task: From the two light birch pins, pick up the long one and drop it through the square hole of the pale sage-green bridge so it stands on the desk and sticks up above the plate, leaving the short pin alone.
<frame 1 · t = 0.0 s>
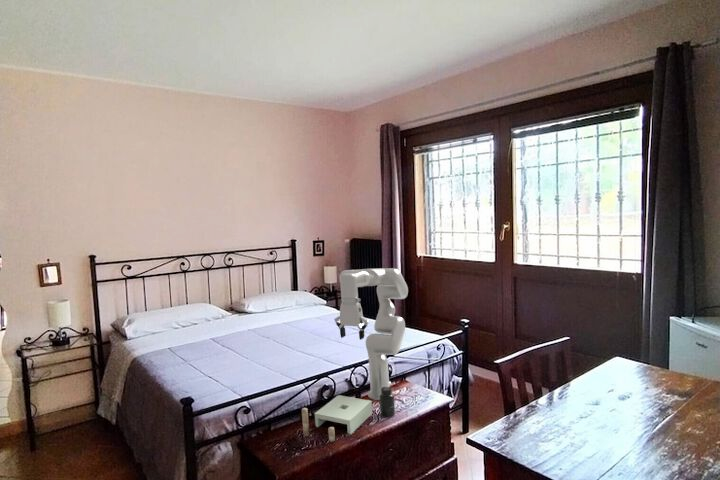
hand: (352, 337, 196), 37 cm above the table, tool pointing down, fingers open, 9 cm apart
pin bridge: (344, 419, 196), on the table
short birch pin: (332, 440, 179), on the table
supplement bottle: (387, 414, 199), on the table
long birch pin: (306, 434, 185), on the table
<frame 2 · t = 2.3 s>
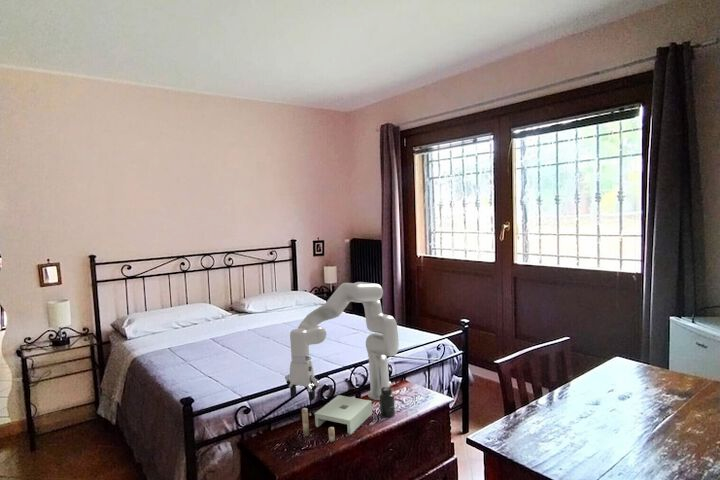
hand: (302, 397, 184), 16 cm above the table, tool pointing down, fingers open, 9 cm apart
nothing on the table moved.
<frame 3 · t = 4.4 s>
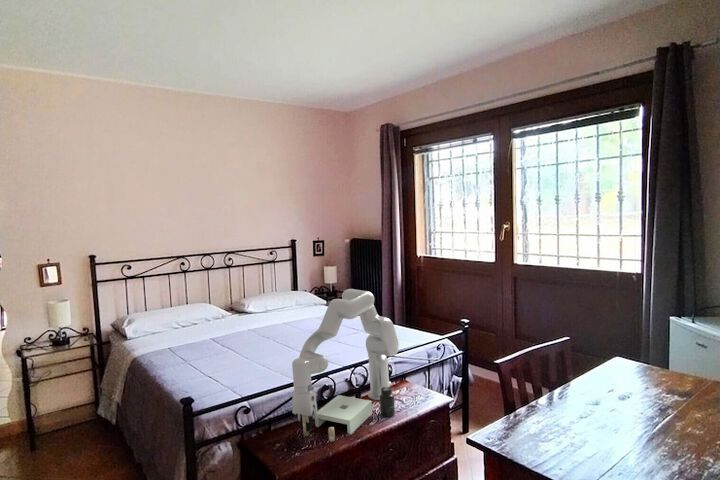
hand: (306, 429, 185), 2 cm above the table, tool pointing down, fingers closed on long birch pin, 2 cm apart
long birch pin: (306, 434, 185), on the table, touching gripper
everything else where it was.
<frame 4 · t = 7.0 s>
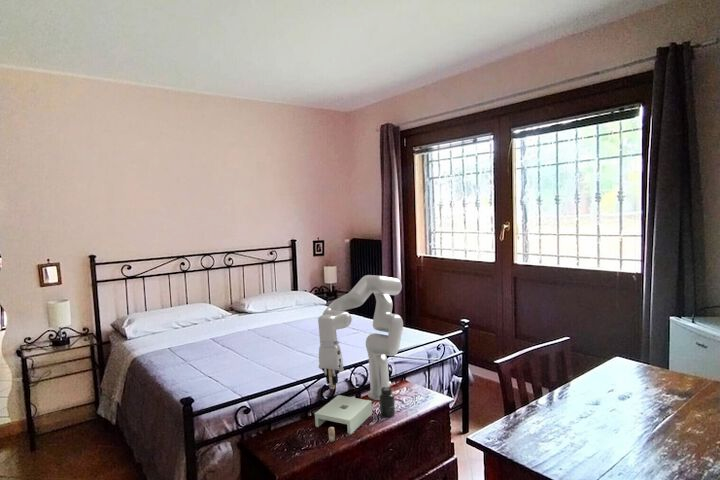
hand: (332, 382, 192), 18 cm above the table, tool pointing down, fingers closed on long birch pin, 2 cm apart
long birch pin: (332, 387, 192), point 16 cm above the table, touching gripper
everything else where it was.
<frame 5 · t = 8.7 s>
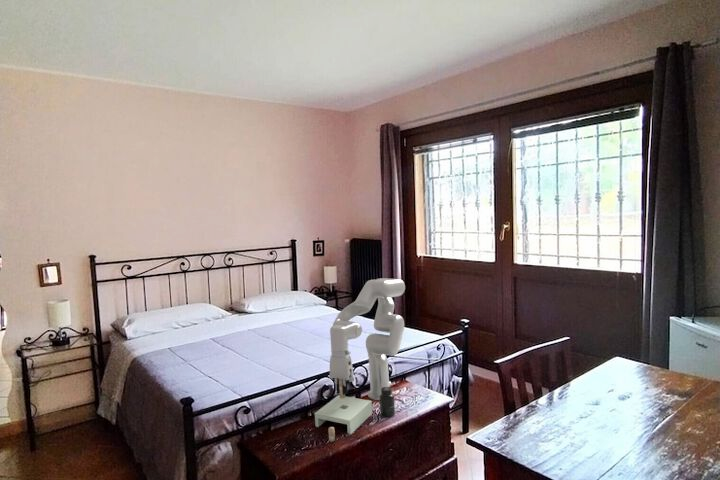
hand: (342, 392, 195), 13 cm above the table, tool pointing down, fingers closed on long birch pin, 2 cm apart
long birch pin: (342, 397, 195), point 11 cm above the table, touching gripper
everything else where it was.
when the fingers open (8 cm above the table, at t = 9.8 s): long birch pin drops 6 cm, on the table.
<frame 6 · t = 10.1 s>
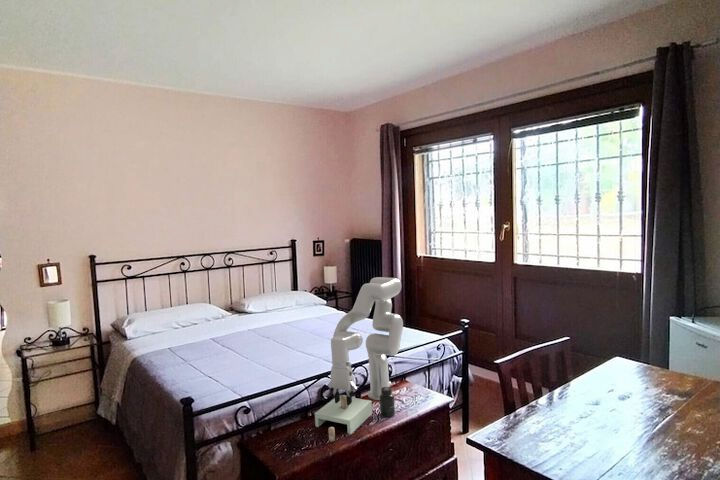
hand: (343, 402, 195), 8 cm above the table, tool pointing down, fingers open, 5 cm apart
long birch pin: (344, 419, 196), on the table
everything else where it was.
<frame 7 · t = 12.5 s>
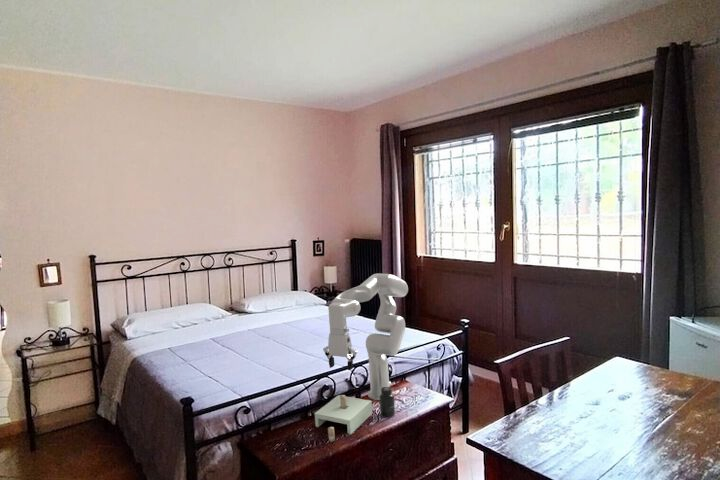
hand: (341, 367, 194), 24 cm above the table, tool pointing down, fingers open, 9 cm apart
nothing on the table moved.
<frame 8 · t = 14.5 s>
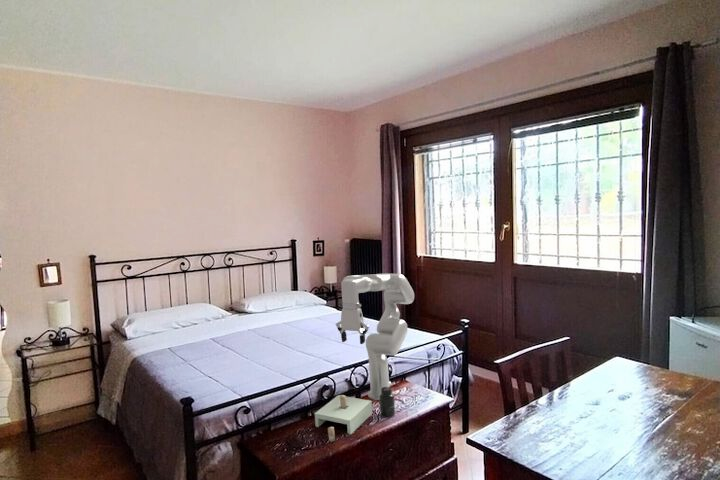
hand: (353, 342, 201), 33 cm above the table, tool pointing down, fingers open, 9 cm apart
nothing on the table moved.
at the end: long birch pin 0.1 cm off-centre on the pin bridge, point 0.0 cm above the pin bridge's base; long birch pin tilted 0°; short birch pin moved 0.0 cm from its start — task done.
